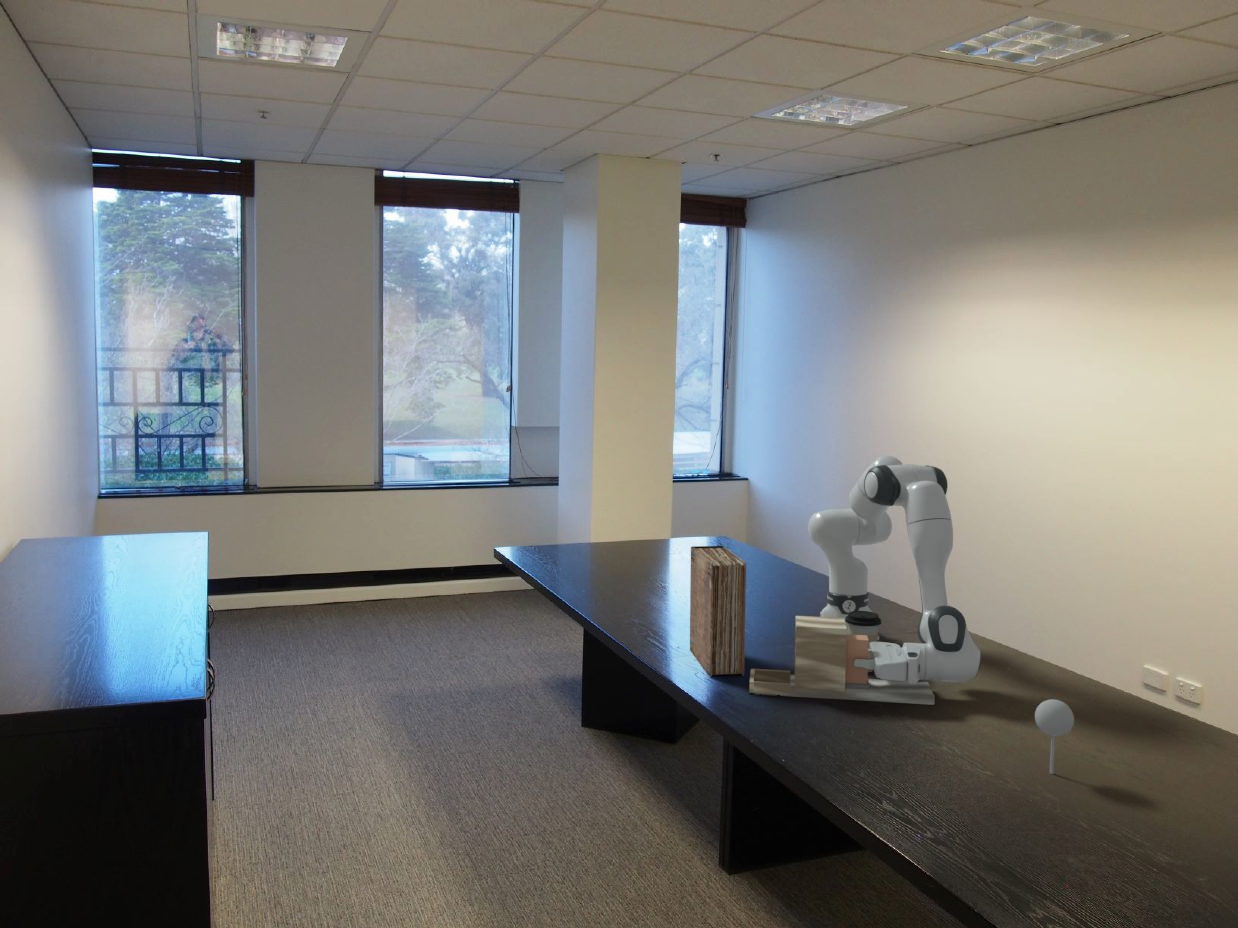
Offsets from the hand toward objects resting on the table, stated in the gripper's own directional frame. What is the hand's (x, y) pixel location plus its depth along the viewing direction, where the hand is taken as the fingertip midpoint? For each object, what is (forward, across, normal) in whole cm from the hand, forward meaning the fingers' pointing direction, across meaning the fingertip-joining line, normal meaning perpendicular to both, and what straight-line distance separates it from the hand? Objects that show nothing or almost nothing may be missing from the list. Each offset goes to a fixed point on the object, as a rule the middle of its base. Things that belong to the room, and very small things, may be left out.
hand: (853, 657), depth 244 cm
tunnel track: (+3, 0, +9) cm, 9 cm away
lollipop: (-36, +43, +9) cm, 57 cm away
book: (+35, -19, +9) cm, 41 cm away
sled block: (+2, 0, +7) cm, 7 cm away
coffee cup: (-4, -20, +9) cm, 22 cm away
